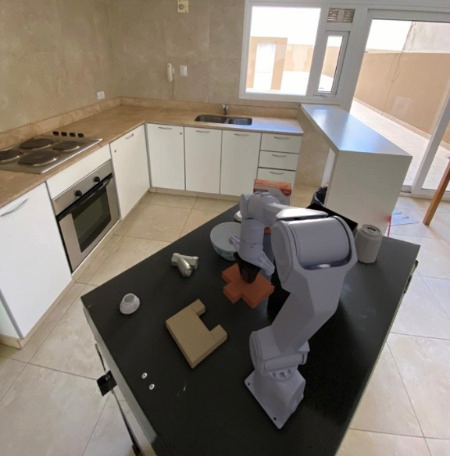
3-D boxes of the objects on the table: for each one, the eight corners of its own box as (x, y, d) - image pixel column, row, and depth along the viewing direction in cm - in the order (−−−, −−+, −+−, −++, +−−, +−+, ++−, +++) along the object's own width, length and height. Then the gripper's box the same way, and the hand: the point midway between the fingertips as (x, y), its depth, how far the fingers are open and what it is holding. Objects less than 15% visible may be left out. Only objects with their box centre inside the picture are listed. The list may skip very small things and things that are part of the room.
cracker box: (248, 232, 100) (253, 185, 92) (249, 223, 105) (254, 178, 98) (284, 237, 98) (292, 189, 90) (284, 227, 103) (291, 182, 96)
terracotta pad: (273, 291, 67) (276, 275, 65) (244, 315, 60) (246, 299, 58) (242, 264, 75) (243, 249, 73) (213, 282, 69) (214, 267, 67)
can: (375, 254, 91) (384, 227, 86) (374, 268, 85) (383, 239, 80) (352, 246, 94) (360, 219, 90) (350, 258, 88) (358, 230, 84)
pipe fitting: (192, 281, 77) (198, 263, 83) (191, 272, 76) (198, 255, 82) (167, 276, 79) (175, 259, 85) (166, 267, 77) (174, 250, 83)
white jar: (119, 301, 70) (120, 317, 65) (118, 294, 68) (119, 309, 64) (138, 295, 72) (140, 310, 67) (137, 287, 71) (139, 302, 66)
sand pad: (226, 339, 62) (227, 333, 61) (192, 368, 55) (192, 363, 55) (198, 303, 70) (198, 298, 69) (166, 326, 64) (165, 320, 63)
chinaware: (247, 275, 80) (249, 256, 77) (203, 262, 84) (203, 244, 81) (256, 244, 93) (258, 227, 90) (218, 235, 97) (218, 218, 94)
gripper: (285, 246, 60) (278, 288, 65) (243, 217, 70) (240, 255, 75) (265, 259, 56) (259, 303, 61) (223, 226, 66) (221, 266, 71)
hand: (247, 277), depth 68 cm, fingers closed on terracotta pad, 2 cm apart
